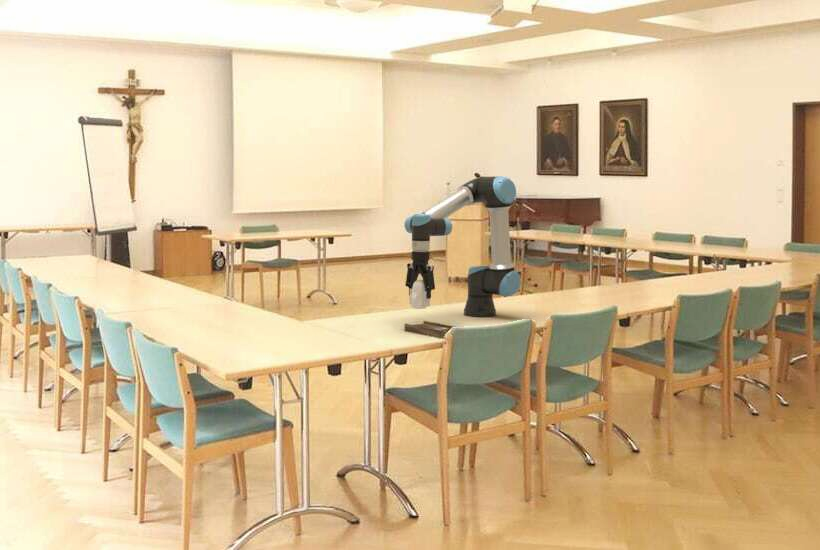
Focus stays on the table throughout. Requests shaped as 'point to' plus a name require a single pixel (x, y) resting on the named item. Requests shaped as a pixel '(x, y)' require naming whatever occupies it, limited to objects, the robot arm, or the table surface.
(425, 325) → the flange rail
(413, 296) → the figurine
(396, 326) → the table surface
